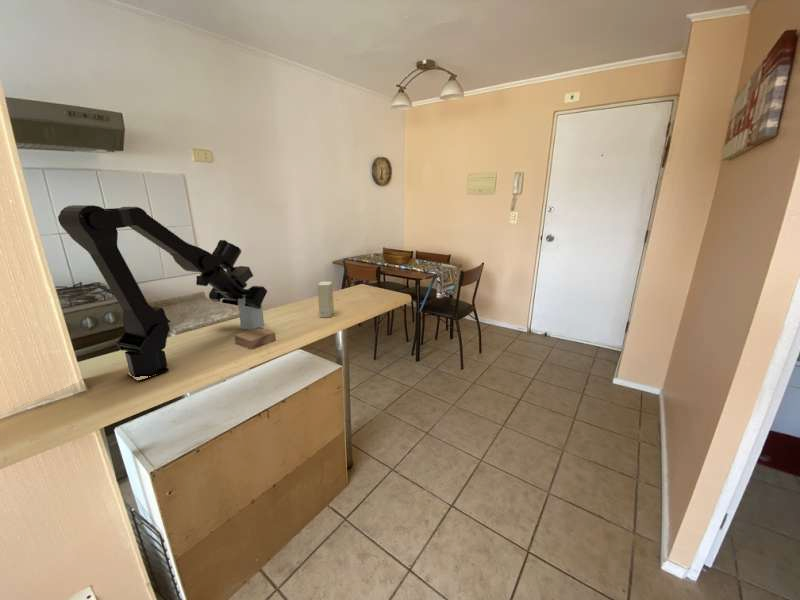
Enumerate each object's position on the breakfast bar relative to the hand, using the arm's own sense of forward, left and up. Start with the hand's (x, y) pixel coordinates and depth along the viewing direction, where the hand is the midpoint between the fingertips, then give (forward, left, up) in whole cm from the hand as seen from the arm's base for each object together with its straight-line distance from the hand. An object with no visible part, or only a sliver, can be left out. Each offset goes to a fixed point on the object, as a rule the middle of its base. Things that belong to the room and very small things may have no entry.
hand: (253, 306), depth 110 cm
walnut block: (-8, -12, -7) cm, 16 cm away
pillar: (-1, 0, -7) cm, 7 cm away
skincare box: (+22, -11, -7) cm, 25 cm away
